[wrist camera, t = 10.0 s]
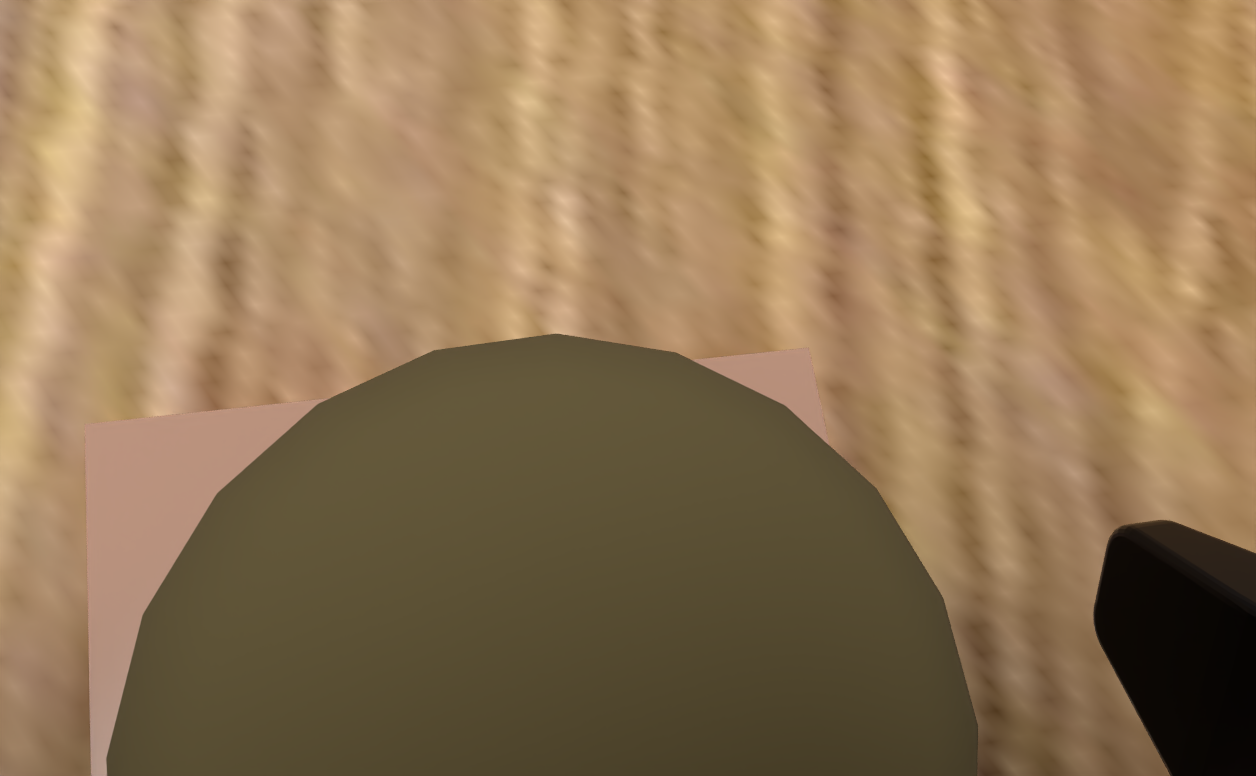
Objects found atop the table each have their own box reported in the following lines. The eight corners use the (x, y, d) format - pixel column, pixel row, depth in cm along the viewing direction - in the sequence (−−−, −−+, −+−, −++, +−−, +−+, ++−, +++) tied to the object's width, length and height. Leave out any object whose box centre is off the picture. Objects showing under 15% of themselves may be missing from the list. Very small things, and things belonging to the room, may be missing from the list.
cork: (733, 983, 15) (1273, 1422, 5) (269, 1015, 15) (-205, 1611, 4) (706, 538, 17) (1062, 200, 7) (293, 544, 17) (3, 167, 6)
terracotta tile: (957, 1108, 16) (971, 1118, 15) (113, 1301, 14) (101, 1319, 13) (799, 358, 19) (808, 347, 19) (96, 433, 17) (84, 423, 17)
